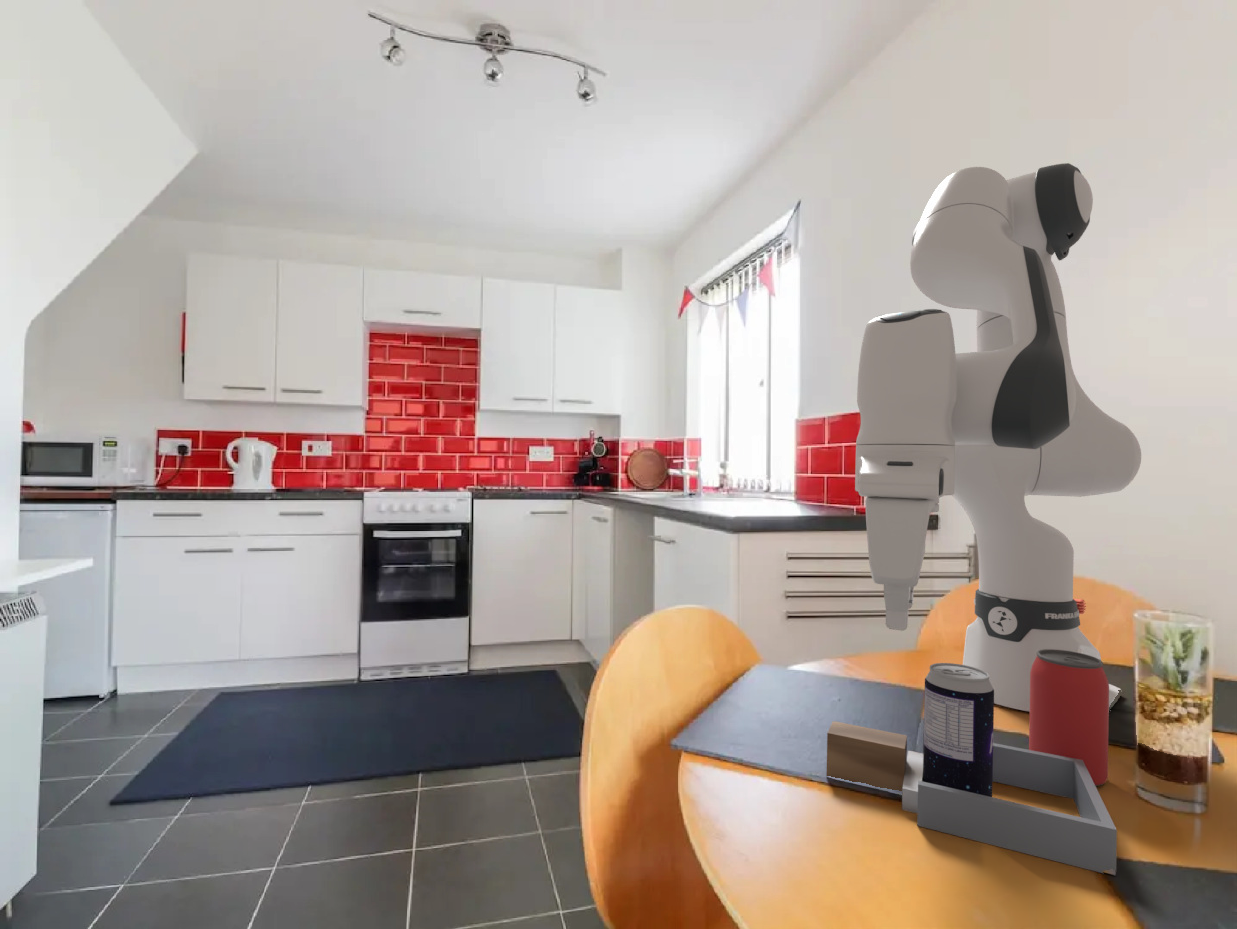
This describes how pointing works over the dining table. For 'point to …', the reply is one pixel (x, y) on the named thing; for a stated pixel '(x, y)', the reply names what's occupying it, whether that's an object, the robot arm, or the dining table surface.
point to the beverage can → (958, 728)
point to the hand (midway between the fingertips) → (900, 617)
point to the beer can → (1070, 709)
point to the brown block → (875, 760)
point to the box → (1028, 811)
